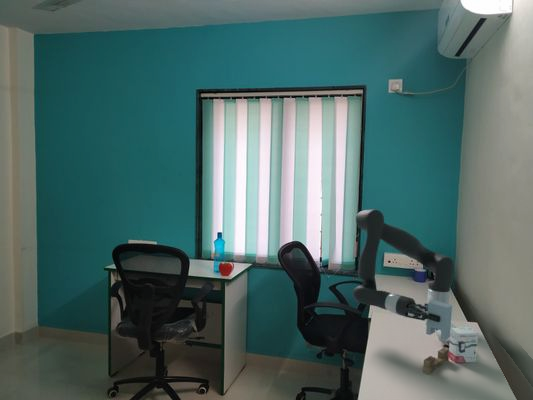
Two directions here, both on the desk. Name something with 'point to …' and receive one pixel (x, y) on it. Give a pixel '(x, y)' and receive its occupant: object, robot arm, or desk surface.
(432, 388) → the desk surface
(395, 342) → the desk surface
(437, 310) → the notched block
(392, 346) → the desk surface
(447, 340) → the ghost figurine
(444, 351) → the notched rail
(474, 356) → the ink box
